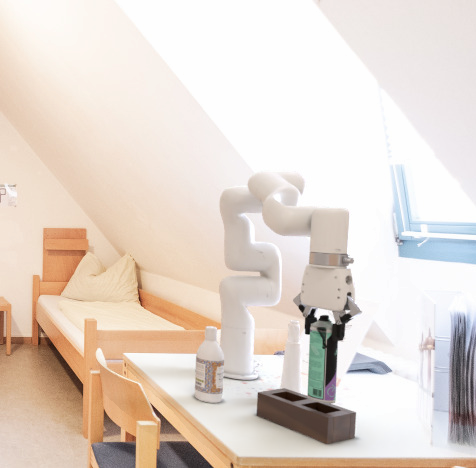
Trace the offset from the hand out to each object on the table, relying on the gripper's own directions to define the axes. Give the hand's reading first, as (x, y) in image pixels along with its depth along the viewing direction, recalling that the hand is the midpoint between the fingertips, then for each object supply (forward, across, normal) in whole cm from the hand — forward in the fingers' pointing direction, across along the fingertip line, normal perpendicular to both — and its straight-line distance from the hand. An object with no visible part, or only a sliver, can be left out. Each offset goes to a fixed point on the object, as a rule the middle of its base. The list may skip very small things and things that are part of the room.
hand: (323, 336), depth 125 cm
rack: (+23, +3, 0) cm, 23 cm away
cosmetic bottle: (+23, +17, -15) cm, 33 cm away
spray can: (+15, 0, 0) cm, 15 cm away
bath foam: (+23, +25, +7) cm, 35 cm away
